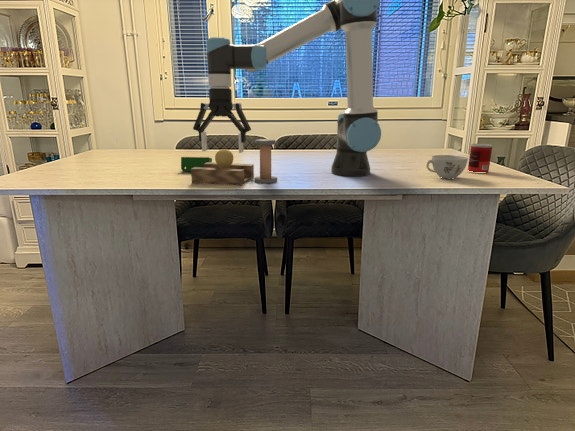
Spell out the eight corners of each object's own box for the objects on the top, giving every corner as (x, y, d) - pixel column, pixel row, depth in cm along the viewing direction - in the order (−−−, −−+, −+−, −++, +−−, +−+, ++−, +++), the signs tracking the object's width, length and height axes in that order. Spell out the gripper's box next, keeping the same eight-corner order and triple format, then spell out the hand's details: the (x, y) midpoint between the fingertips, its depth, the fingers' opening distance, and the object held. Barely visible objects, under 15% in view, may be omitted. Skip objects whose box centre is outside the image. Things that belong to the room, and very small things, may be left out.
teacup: (454, 174, 157) (457, 153, 155) (472, 180, 145) (475, 158, 143) (418, 175, 156) (420, 154, 153) (432, 181, 144) (435, 159, 141)
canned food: (489, 171, 164) (493, 144, 160) (486, 174, 157) (491, 146, 154) (469, 169, 168) (472, 143, 164) (465, 172, 161) (469, 145, 158)
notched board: (253, 177, 148) (253, 164, 147) (241, 185, 135) (240, 171, 134) (208, 175, 152) (207, 162, 151) (191, 183, 139) (190, 168, 137)
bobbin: (279, 179, 145) (279, 139, 141) (273, 184, 138) (273, 141, 134) (258, 178, 147) (257, 138, 143) (251, 183, 139) (250, 141, 135)
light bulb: (212, 178, 142) (211, 150, 139) (221, 175, 147) (220, 147, 144) (228, 179, 139) (227, 151, 137) (237, 176, 145) (236, 148, 142)
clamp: (207, 181, 164) (216, 160, 163) (203, 180, 158) (213, 159, 157) (181, 168, 164) (190, 148, 164) (176, 167, 158) (185, 146, 158)
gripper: (259, 88, 135) (260, 151, 141) (190, 88, 141) (194, 148, 147) (252, 87, 128) (253, 154, 134) (180, 87, 134) (185, 151, 140)
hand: (222, 151), depth 141 cm, fingers open, 13 cm apart
